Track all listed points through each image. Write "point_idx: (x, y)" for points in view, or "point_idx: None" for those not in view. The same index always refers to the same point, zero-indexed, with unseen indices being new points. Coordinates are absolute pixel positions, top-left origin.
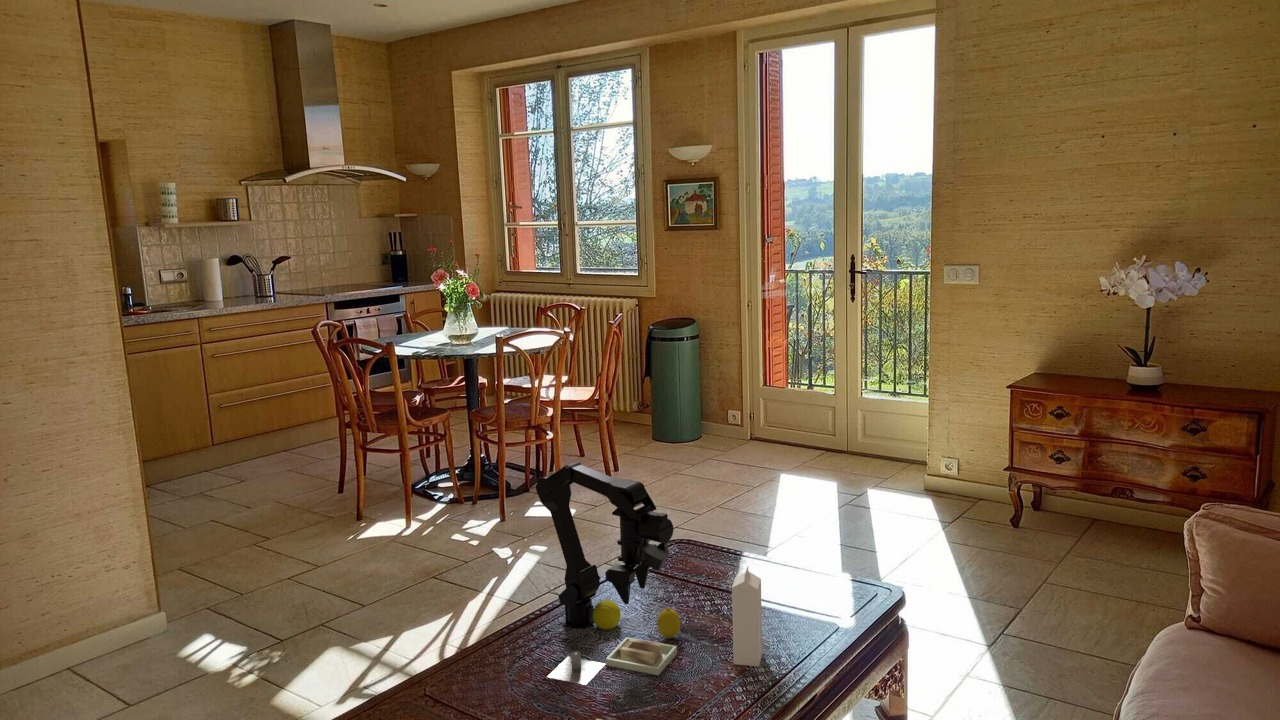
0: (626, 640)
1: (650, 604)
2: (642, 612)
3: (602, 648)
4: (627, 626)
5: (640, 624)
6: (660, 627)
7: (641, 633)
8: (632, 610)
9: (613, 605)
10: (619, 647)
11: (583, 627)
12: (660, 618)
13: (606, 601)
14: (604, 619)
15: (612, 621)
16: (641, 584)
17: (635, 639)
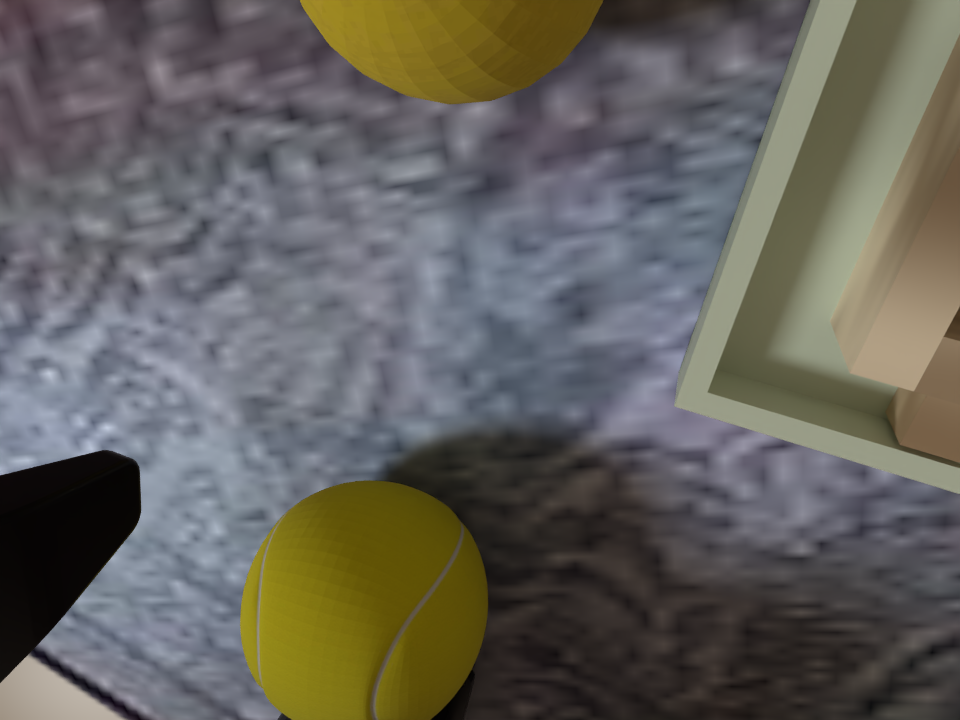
0: (732, 396)
1: (11, 267)
2: (133, 309)
3: (753, 552)
4: (362, 395)
5: (308, 299)
6: (577, 39)
7: (453, 269)
8: (133, 384)
9: (327, 624)
10: (907, 450)
11: (465, 683)
12: (517, 42)
13: (298, 696)
14: (475, 631)
15: (460, 555)
16: (75, 547)
17: (891, 316)
